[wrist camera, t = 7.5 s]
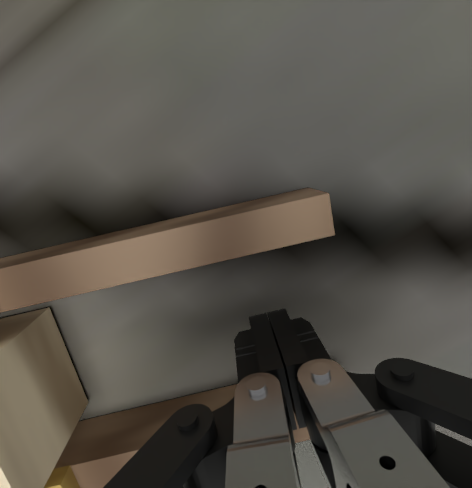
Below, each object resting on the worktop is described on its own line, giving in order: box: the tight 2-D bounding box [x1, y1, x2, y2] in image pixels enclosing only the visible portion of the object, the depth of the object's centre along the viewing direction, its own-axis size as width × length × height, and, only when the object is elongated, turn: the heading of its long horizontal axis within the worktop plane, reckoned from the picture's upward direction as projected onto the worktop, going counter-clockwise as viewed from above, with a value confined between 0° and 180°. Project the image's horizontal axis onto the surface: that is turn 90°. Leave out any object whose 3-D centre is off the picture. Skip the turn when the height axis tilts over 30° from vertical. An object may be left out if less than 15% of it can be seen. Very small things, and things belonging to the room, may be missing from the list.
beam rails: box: [0, 188, 336, 488], centre depth 13 cm, size 22×10×3 cm, turn 103°
